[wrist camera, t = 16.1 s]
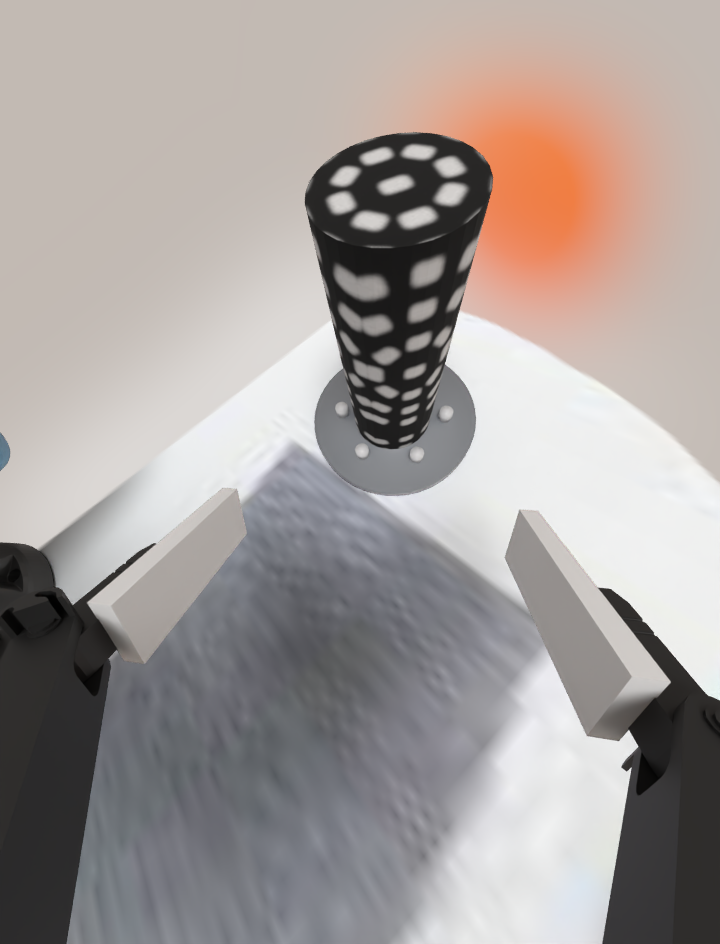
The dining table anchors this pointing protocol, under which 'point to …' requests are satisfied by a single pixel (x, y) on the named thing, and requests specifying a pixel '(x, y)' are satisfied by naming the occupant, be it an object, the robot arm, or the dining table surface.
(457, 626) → the dining table surface
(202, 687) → the dining table surface
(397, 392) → the white-spotted black cylinder
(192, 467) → the dining table surface
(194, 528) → the robot arm
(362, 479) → the stub plate
